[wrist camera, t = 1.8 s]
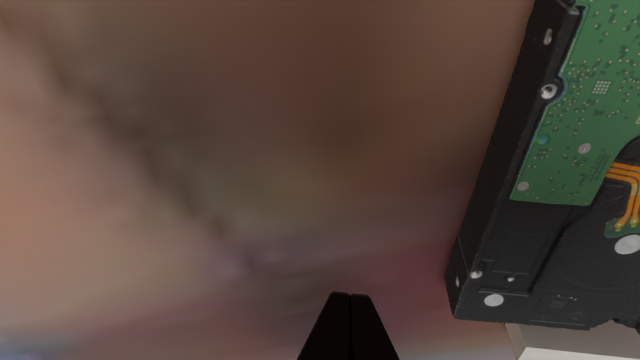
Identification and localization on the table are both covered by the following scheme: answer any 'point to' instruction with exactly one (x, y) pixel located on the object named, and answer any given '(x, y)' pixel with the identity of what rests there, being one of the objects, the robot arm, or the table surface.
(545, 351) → the dock
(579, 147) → the disk drive
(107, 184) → the table surface
